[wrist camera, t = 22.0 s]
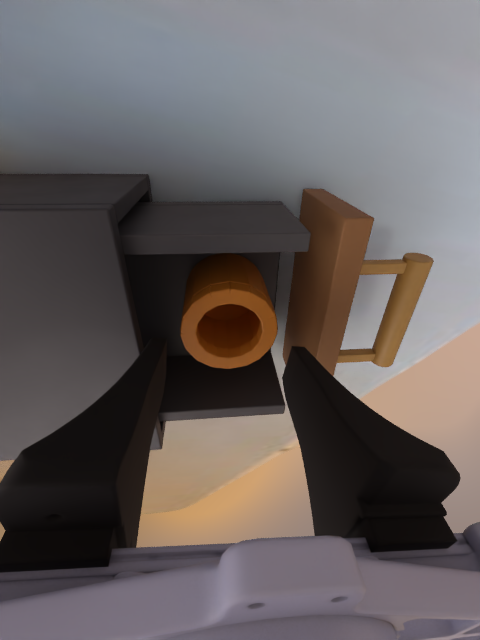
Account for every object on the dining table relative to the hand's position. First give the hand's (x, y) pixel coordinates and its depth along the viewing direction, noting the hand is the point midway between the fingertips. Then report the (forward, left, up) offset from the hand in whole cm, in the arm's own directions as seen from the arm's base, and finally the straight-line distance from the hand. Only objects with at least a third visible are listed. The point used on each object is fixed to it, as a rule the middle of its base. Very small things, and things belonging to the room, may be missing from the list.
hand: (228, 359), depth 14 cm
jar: (0, 0, -6) cm, 6 cm away
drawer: (0, +2, -7) cm, 7 cm away
